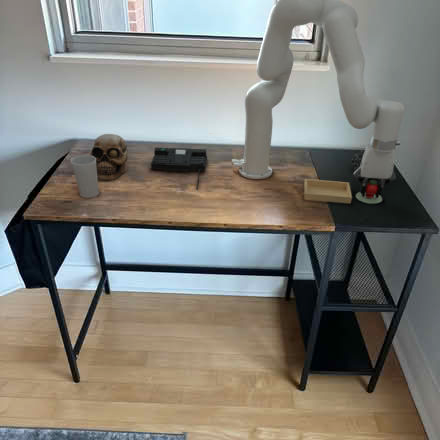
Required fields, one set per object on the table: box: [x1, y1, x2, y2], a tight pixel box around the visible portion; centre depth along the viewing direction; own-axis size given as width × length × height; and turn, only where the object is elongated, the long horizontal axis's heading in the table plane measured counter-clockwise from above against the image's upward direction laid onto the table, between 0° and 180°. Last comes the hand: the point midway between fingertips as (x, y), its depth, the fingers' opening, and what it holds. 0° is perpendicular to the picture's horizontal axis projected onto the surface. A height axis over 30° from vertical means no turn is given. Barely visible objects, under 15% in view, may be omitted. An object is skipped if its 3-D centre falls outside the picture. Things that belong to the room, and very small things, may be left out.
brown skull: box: [90, 133, 129, 182], centre depth 166 cm, size 16×17×13 cm
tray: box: [303, 178, 353, 204], centre depth 155 cm, size 16×12×3 cm
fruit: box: [351, 149, 365, 175], centre depth 167 cm, size 9×8×15 cm
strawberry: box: [365, 179, 378, 198], centre depth 152 cm, size 4×4×5 cm
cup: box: [70, 154, 100, 199], centre depth 149 cm, size 8×8×12 cm
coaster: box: [355, 191, 383, 204], centre depth 155 cm, size 9×9×1 cm
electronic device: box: [150, 147, 208, 190], centre depth 168 cm, size 21×30×5 cm
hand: (369, 195), depth 154 cm, fingers closed on strawberry, 4 cm apart
